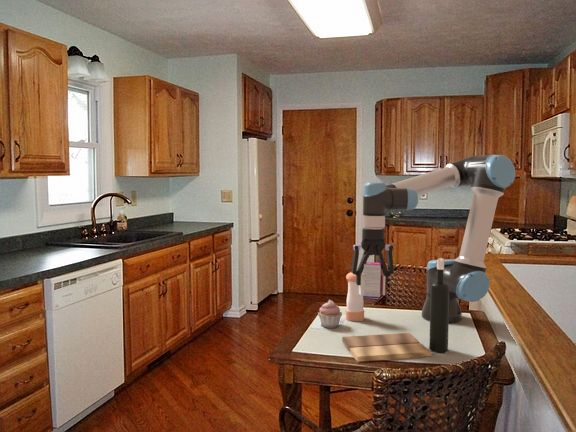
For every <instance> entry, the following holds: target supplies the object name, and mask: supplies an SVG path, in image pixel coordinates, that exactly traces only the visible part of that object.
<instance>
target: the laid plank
mask: <svg viewBox="0 0 576 432" xmlns="http://www.w3.org/2000/svg"><path fill="white" fill-rule="evenodd" d="M349 353H350V355H351V356H352V358H353V359H355V361H356V362H358V363H360V362H372V361H387V360H388V361H390V360H399V359H402V358H403V359H411V358H410V357H417V358H425V357H424V356H431V357H432V351H430V349H429V348H427V347H426V346H425V345H424V344H422V343H414V344H399V345H384V346H369V347H354V348H350V352H349Z"/></svg>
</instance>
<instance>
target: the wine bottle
mask: <svg viewBox="0 0 576 432" xmlns="http://www.w3.org/2000/svg"><path fill="white" fill-rule="evenodd" d="M436 260H437V282H435V283H433V284H432V285H431V296H430V320H429V348H428V349H429V350H430V351H431V353H432V352H433V353H436V354H437V353H438V354H444V353H448V351H449V286H448V284H446V283H444V282H443V275H444V260H445V259H444V258H441V257H439V258H437V259H436Z"/></svg>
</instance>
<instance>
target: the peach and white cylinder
mask: <svg viewBox="0 0 576 432" xmlns="http://www.w3.org/2000/svg"><path fill="white" fill-rule="evenodd" d="M361 275H362V276H363V279H364V273H362V274H361ZM345 278H346V281H347V285H348V286H347V288H348V289H347V295H346V309H345V320H347V321H349V322H362V321H364V320H365V308H364V298H363V295H360V294H359V285H357V284H356V275H355V274H353V273H351V272H349V273H347V274H346V276H345ZM361 320H362V321H361Z"/></svg>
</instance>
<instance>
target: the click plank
mask: <svg viewBox="0 0 576 432" xmlns="http://www.w3.org/2000/svg"><path fill="white" fill-rule="evenodd" d="M341 338H342V339H341V340H342V344H343V345H344V346H345V348H346V350H348V352H349V353H350V348H354V347H369V346H384V345H399V344H414V343H420V341H419V340H418V339H417V338H416V337H415V336H414V335H413V334H412V333H411V332H401V333H399V332H398V333H383V334H371V335H370V334H369V335H353V336H342V337H341Z"/></svg>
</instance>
